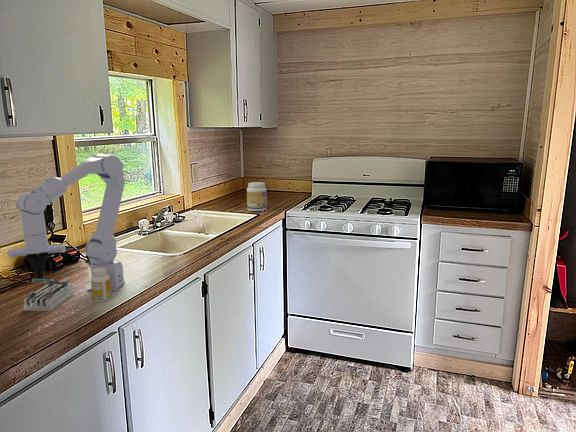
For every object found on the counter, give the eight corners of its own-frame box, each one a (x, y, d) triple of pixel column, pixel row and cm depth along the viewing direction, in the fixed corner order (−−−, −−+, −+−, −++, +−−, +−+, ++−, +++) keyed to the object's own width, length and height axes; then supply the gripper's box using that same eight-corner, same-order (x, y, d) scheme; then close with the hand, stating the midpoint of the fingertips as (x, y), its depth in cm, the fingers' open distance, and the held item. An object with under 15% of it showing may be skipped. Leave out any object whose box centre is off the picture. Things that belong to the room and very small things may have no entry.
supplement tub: (266, 212, 262) (266, 184, 259) (246, 212, 262) (245, 184, 258) (267, 208, 274) (266, 181, 271) (247, 208, 274) (247, 181, 270)
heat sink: (49, 293, 141) (47, 279, 139) (73, 293, 140) (72, 279, 139) (23, 310, 128) (21, 295, 127) (50, 311, 127) (48, 295, 126)
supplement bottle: (107, 294, 140) (104, 265, 138) (114, 299, 136) (111, 269, 134) (90, 298, 136) (87, 269, 134) (96, 303, 132) (93, 273, 130)
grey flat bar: (53, 284, 139) (53, 281, 139) (65, 284, 139) (65, 281, 139) (31, 281, 128) (32, 278, 128) (45, 282, 128) (45, 279, 128)
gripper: (64, 228, 133) (69, 270, 136) (9, 232, 127) (15, 276, 130) (62, 233, 126) (67, 277, 129) (3, 238, 121) (10, 284, 124)
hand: (41, 277), depth 129 cm, fingers closed
